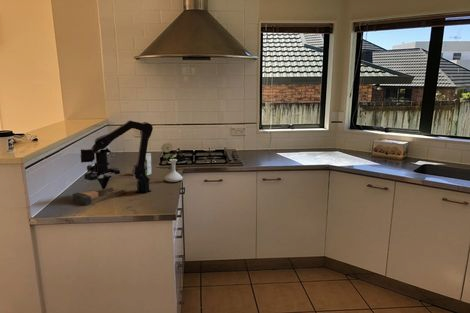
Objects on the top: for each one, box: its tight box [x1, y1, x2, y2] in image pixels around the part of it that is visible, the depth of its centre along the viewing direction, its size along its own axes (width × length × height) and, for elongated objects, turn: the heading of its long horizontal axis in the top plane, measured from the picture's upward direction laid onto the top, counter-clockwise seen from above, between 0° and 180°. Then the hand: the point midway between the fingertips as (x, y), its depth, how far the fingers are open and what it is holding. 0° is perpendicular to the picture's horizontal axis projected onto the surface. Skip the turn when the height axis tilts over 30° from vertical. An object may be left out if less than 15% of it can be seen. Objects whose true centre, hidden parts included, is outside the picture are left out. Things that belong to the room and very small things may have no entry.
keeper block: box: [80, 190, 100, 199], centre depth 185 cm, size 6×6×4 cm
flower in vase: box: [160, 142, 183, 183], centre depth 222 cm, size 13×11×25 cm
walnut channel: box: [72, 186, 125, 206], centre depth 190 cm, size 11×24×4 cm, turn 147°
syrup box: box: [145, 152, 152, 176], centre depth 238 cm, size 6×6×14 cm
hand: (103, 189), depth 192 cm, fingers closed
